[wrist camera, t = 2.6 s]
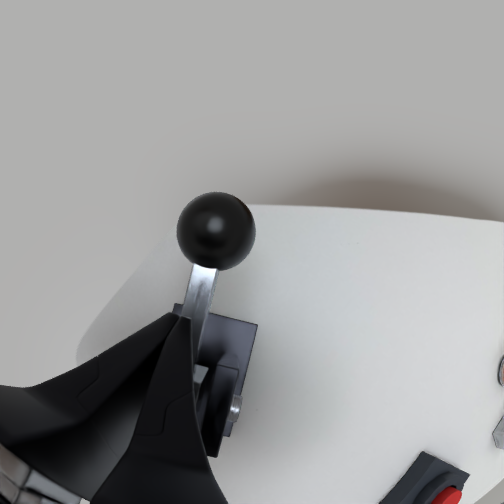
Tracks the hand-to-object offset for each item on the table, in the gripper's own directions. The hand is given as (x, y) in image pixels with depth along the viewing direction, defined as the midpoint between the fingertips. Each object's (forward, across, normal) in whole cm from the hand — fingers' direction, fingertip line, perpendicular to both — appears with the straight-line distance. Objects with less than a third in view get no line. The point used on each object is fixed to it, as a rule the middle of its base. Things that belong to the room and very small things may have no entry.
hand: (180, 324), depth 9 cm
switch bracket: (+7, 0, +12) cm, 14 cm away
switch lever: (+4, 0, +2) cm, 5 cm away
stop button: (-4, -27, +18) cm, 33 cm away
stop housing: (-1, -28, +20) cm, 34 cm away
